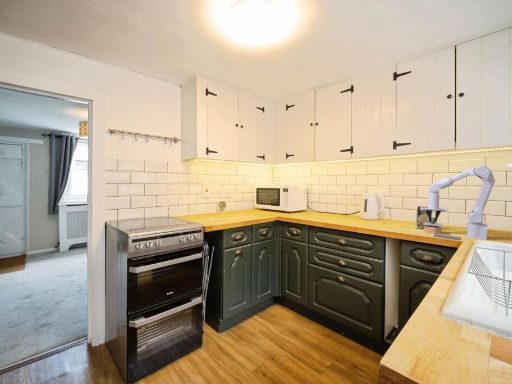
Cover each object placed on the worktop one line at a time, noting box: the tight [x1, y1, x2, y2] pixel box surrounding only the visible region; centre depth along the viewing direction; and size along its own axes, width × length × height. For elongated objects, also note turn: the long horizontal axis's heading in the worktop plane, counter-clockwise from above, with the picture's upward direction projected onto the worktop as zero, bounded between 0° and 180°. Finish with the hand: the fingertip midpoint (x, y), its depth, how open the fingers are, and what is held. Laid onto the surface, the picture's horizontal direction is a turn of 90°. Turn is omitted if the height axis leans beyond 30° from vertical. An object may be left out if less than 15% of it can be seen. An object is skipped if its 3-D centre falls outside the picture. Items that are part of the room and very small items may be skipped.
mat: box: [432, 234, 462, 241], centre depth 151 cm, size 13×12×1 cm
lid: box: [423, 216, 444, 227], centre depth 165 cm, size 10×10×5 cm
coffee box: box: [415, 206, 433, 230], centre depth 181 cm, size 9×6×16 cm
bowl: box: [423, 225, 443, 235], centre depth 165 cm, size 9×9×4 cm
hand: (432, 222), depth 165 cm, fingers closed on lid, 2 cm apart
